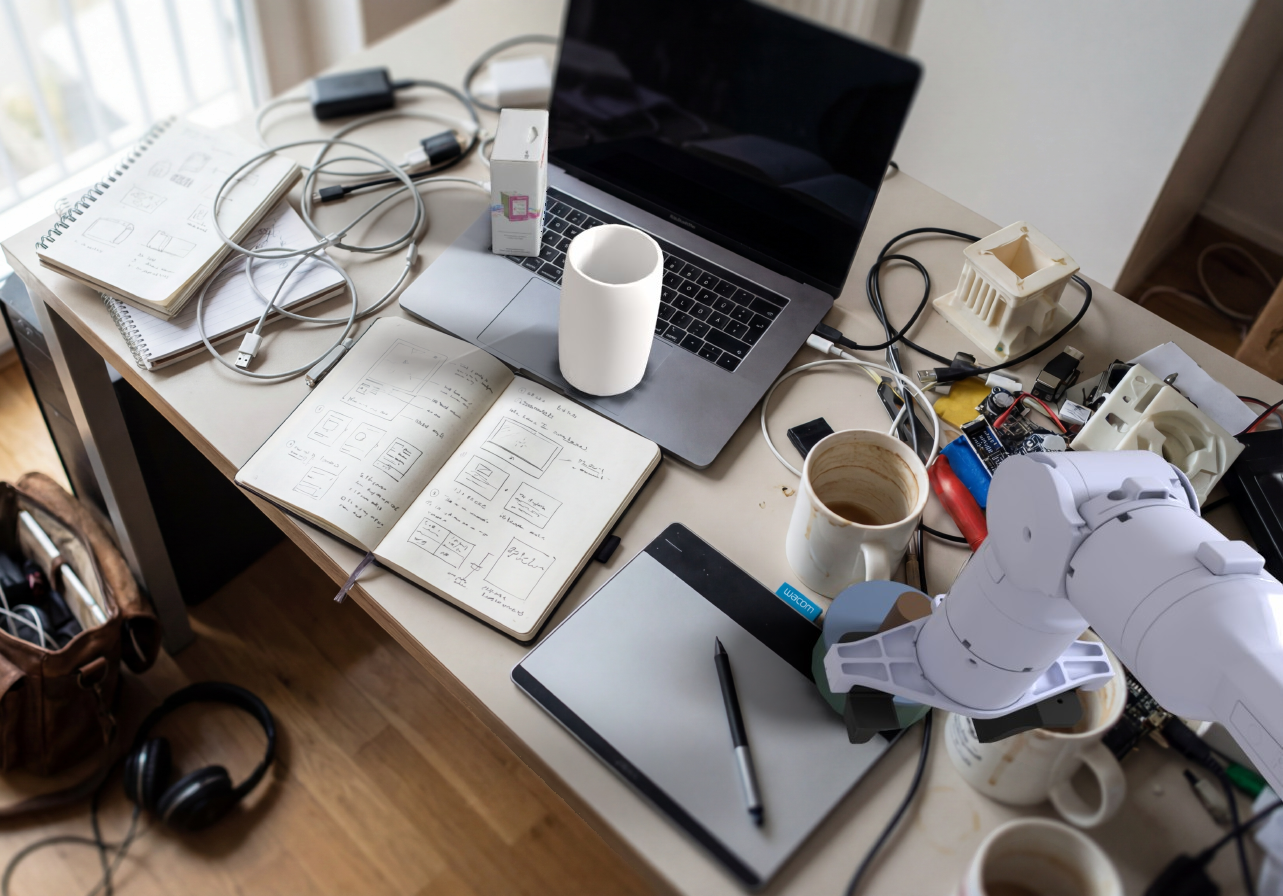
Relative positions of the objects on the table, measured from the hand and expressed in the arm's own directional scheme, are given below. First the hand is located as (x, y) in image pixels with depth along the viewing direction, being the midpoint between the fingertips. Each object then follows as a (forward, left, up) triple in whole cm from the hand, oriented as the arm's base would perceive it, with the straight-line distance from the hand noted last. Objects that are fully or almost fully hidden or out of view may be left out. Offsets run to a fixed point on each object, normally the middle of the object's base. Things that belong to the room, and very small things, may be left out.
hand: (915, 727), depth 61 cm
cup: (+41, -6, -11) cm, 43 cm away
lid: (+6, -6, -5) cm, 10 cm away
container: (+6, -6, -10) cm, 13 cm away
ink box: (+62, -10, -11) cm, 64 cm away
